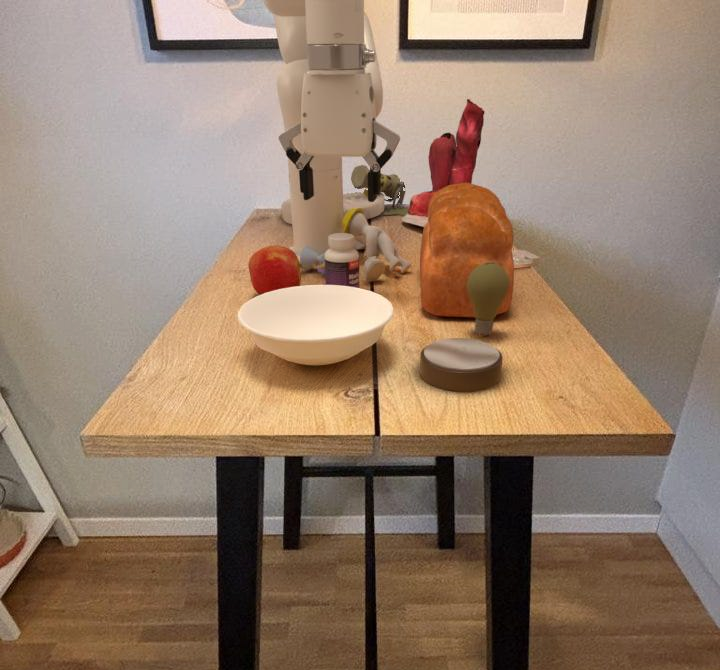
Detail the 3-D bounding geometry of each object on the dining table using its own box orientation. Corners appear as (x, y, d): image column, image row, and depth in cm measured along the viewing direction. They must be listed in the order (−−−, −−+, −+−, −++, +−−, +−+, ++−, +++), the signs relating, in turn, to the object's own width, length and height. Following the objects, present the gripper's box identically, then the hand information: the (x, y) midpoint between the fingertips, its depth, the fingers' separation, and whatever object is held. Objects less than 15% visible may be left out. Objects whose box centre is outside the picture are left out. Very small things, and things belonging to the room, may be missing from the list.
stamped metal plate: (538, 265, 118) (540, 257, 117) (504, 270, 116) (505, 261, 115) (516, 253, 124) (517, 245, 123) (483, 257, 122) (484, 249, 122)
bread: (418, 319, 96) (423, 208, 88) (419, 265, 118) (422, 172, 109) (514, 321, 95) (528, 209, 87) (497, 266, 117) (506, 172, 108)
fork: (325, 218, 138) (326, 232, 139) (366, 241, 122) (366, 256, 123) (338, 217, 138) (338, 231, 140) (380, 240, 123) (380, 255, 124)
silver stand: (425, 354, 87) (426, 334, 85) (502, 360, 85) (504, 339, 83) (414, 387, 79) (415, 366, 77) (498, 395, 77) (501, 373, 75)
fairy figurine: (294, 239, 122) (352, 237, 117) (298, 265, 124) (355, 264, 119) (261, 256, 113) (322, 254, 108) (267, 283, 116) (327, 283, 111)
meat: (454, 242, 128) (418, 107, 122) (399, 264, 150) (366, 150, 143) (543, 214, 136) (514, 85, 129) (478, 239, 157) (450, 129, 151)
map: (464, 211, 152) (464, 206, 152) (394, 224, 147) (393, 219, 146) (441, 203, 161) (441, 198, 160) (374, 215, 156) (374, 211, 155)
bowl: (228, 340, 91) (222, 295, 88) (360, 319, 97) (359, 276, 94) (265, 402, 76) (259, 350, 73) (418, 372, 82) (420, 324, 78)
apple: (298, 306, 102) (295, 254, 98) (245, 306, 103) (239, 254, 98) (305, 289, 109) (302, 240, 104) (255, 289, 109) (250, 240, 105)
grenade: (354, 160, 148) (398, 173, 158) (344, 190, 151) (387, 201, 162) (374, 171, 144) (418, 184, 154) (363, 202, 147) (407, 212, 158)
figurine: (371, 303, 117) (324, 248, 122) (412, 274, 117) (364, 220, 122) (363, 271, 107) (313, 212, 112) (408, 239, 108) (357, 182, 112)
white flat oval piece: (257, 219, 150) (256, 206, 148) (334, 196, 168) (333, 184, 166) (334, 231, 138) (333, 217, 136) (407, 205, 156) (407, 192, 155)
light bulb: (479, 324, 95) (485, 254, 89) (511, 334, 92) (520, 262, 86) (454, 335, 92) (460, 263, 86) (487, 346, 89) (495, 272, 83)
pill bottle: (355, 305, 102) (354, 241, 97) (322, 303, 103) (319, 239, 98) (362, 294, 107) (362, 232, 101) (330, 292, 108) (328, 230, 102)
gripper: (405, 59, 88) (402, 195, 98) (283, 61, 91) (291, 192, 101) (395, 61, 82) (393, 206, 91) (264, 62, 85) (276, 202, 95)
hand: (340, 199), depth 96 cm, fingers open, 9 cm apart
